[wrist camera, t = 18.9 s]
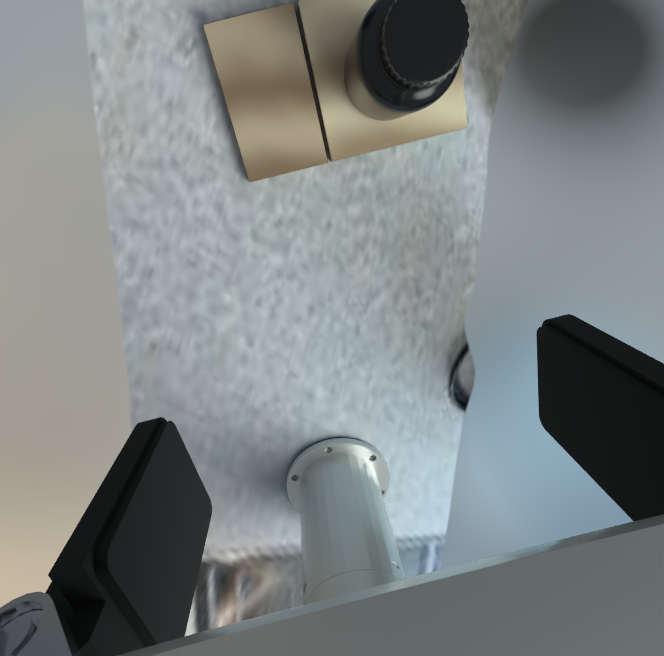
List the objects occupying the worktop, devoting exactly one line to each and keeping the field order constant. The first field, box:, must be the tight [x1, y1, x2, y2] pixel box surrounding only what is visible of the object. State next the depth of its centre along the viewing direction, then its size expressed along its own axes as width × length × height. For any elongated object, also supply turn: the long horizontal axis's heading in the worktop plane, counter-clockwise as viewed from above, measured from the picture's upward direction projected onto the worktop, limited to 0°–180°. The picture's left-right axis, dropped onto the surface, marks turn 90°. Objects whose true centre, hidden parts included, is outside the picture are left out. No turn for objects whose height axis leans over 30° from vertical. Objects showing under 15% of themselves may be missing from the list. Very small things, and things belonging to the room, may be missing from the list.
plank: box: [298, 0, 467, 162], centre depth 33 cm, size 12×12×1 cm
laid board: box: [203, 3, 328, 182], centre depth 33 cm, size 12×7×1 cm, turn 13°
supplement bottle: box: [344, 0, 469, 121], centre depth 27 cm, size 7×7×12 cm
